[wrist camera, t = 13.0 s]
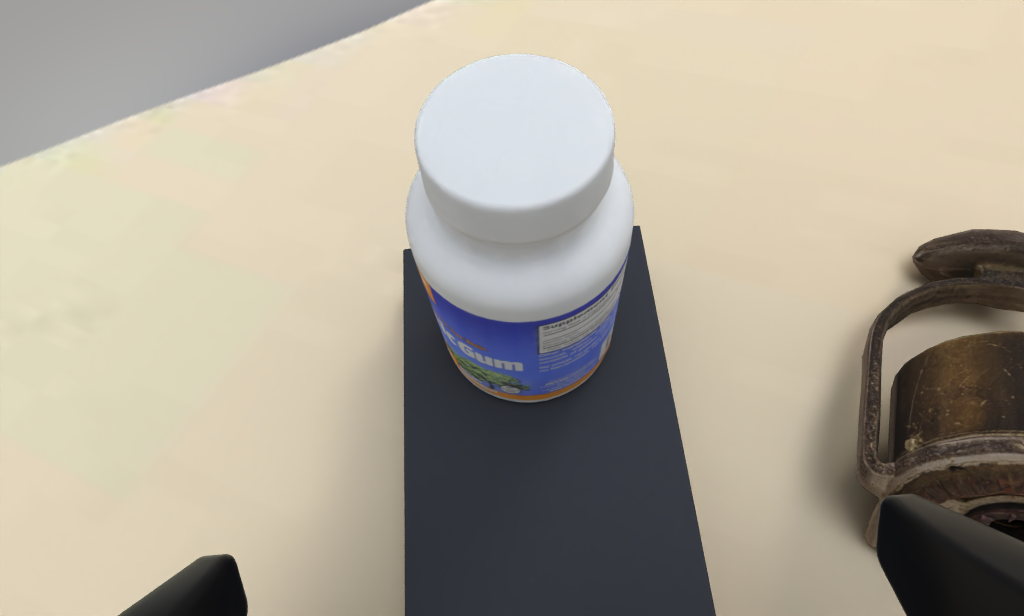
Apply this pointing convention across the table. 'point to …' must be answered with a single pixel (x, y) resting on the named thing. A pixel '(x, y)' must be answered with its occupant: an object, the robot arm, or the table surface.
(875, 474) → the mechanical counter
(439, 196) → the pill bottle
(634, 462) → the blackboard eraser
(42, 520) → the table surface
